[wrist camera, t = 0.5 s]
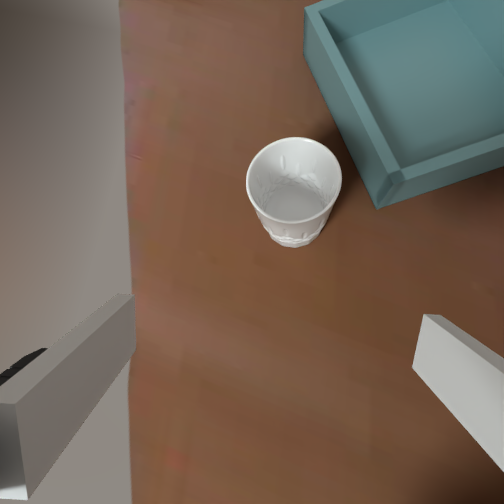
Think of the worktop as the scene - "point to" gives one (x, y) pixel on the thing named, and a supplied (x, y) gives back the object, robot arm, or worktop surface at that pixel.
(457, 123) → the walled box
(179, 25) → the worktop surface
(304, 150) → the white cup
